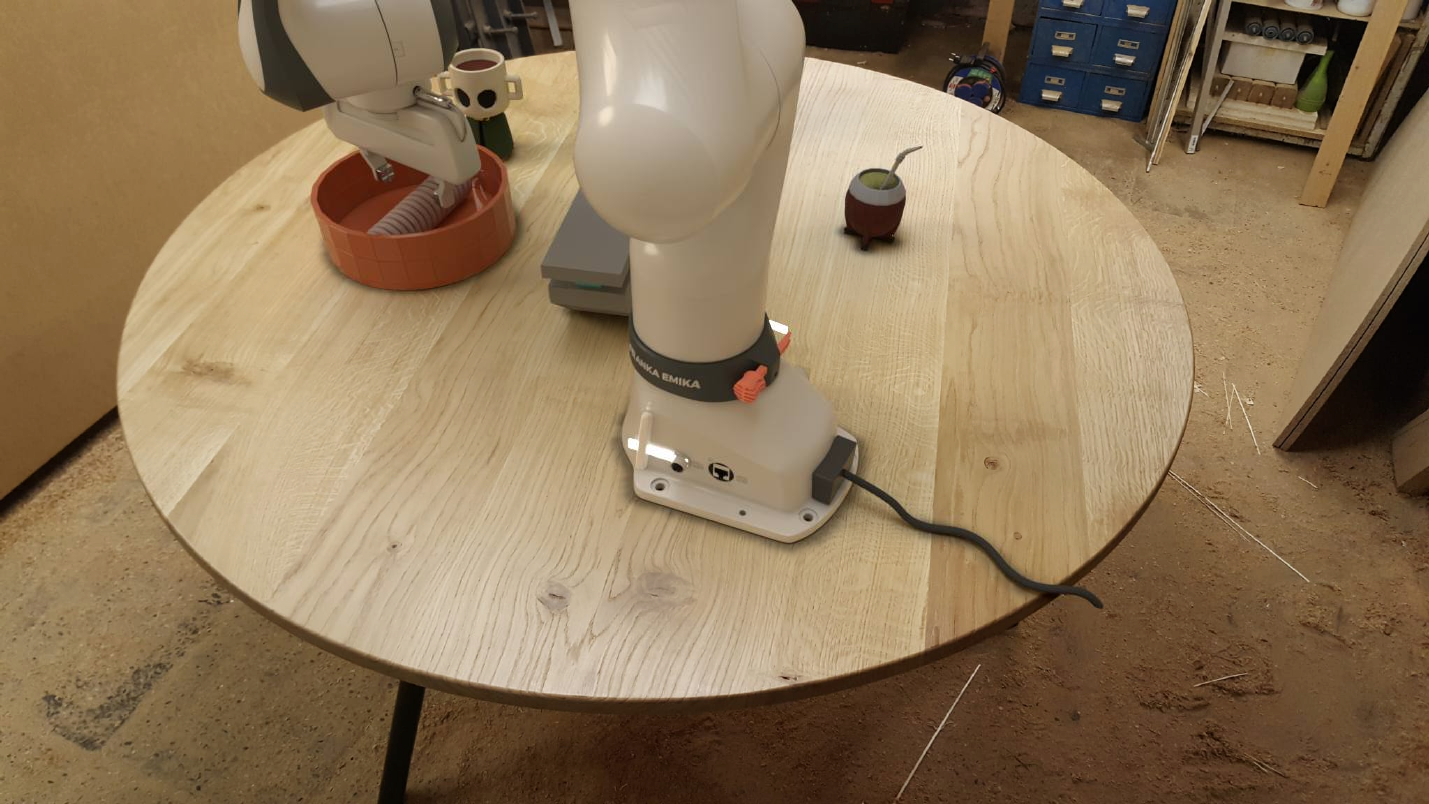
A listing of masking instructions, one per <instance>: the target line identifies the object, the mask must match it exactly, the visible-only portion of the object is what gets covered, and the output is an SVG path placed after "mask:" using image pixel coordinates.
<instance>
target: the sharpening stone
mask: <svg viewBox="0 0 1429 804" xmlns="http://www.w3.org/2000/svg"><path fill="white" fill-rule="evenodd" d="M629 242H630V237H629V236H627V235H625V234H623V233H621V232H620V231H618V230H617V229H615V228H614V227H612V226H611V225H609V224H608V223H607V222H606V221H605V220H604V219H602V218H601V217H600V216H599V215H598V214H597V213H596V211H595V210H594V209H593V208H592V206H591V205H590V204H589V202H588V201H587V199H586V198H585V196H584V194H583V192H582V190H581V188H580V187H578V190H577V192H576V194H575V196H574V198H573V200H572V202H571V204H570V206H569V208H568V210H567V212H566V214H565V215H564V218H563V220H562V222H561V224H560V226H559V228H558V230H557V232H556V233H555V236H554V237H553V239H552V242H551V244H550V245H549V247H548V249H547V252H546V253H545V255H544V256H543V259H542V261H541V264H540V271H541V278H542V279H547V280H549V282H548V284H547V289H548V298H549V303H550V304H553V305H556V306H558V307H561V308H565V309H568V310H572V311H581V312H587V313H588V312H589V313H595V314H596V313H597V314H603V315H605V314H606V315H612V316H613V315H614V316H621V317H628V318H629V315H630V312H631V309H632V291H631V272H630V254H629Z"/></svg>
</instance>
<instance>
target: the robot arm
mask: <svg viewBox="0 0 1429 804" xmlns="http://www.w3.org/2000/svg"><path fill="white" fill-rule="evenodd" d="M568 5H569V6H568V7H569V13H570V21H571V28H572V35H573V42H574V51H575V59H576V67H577V77H578V95H579V99H578V101H579V104H578V105H579V107H578V110H579V111H578V119H577V120H578V121H577V128H576V133H575V141H574V146H573V168H574V173H575V177H576V180H577V183H578V186H579V188H581V190H582V192H583V194H584V196H585V198H586V199H587V201H588V202H589V204H590V205H591V206H592V208H593V209H594V210H595V211H596V213H597V214H598V215H599V216H600V217H601V218H602V219H604V220H605V221H606V222H607V223H608V224H609V225H611V226H612V227H614V228H615V229H617V230H618V231H620V232H621V233H623V234H625V235H627V236H629V237H630V242H629V254H630V272H631V291H632V309H631V312H630V315H629V317H628V350H629V352H628V353H629V359H630V361H631V364H632V366H633V373H632V385H631V392H630V393H631V394H630V399H629V403H628V407H627V411H626V414H625V417H624V419H623V422H622V427H621V442H622V446H623V450H624V452H625V453H626V456H627V458H628V460H629V463H630V464H631V466H632V469H633V479H632V481H633V490H634V493H635V495H636V496H637V497H638V498H640V499H643V500H645V501H648V502H652V503H654V504H657V505H661V506H664V507H668V508H671V509H673V510H677V511H681V512H684V513H687V514H690V515H694V516H697V517H700V518H703V519H707V520H710V521H713V522H716V523H720V524H722V525H726V526H730V527H731V528H732V527H733V528H736V529H739V530H742V531H745V532H749V533H752V534H754V535H758V536H762V537H765V538H768V539H771V540H775V541H778V542H782V543H787V544H791V543H795V542H797V541H800V540H802V539H804V538H806V537H808V536H810V535H812V534H814V533H815V532H816V531H817V530H819V529H820V528H821V527H823V525H824V524H825V523H827V522H828V520H830V518H831V517H832V516H833V515H834V514H835V513H836V511H837V510H838V508H839V507H840V506H841V504H842V503H843V501H844V500H845V498H846V497H847V495H848V493H849V491H850V490H851V487H852V485H853V484H855V485H856V486H857V487H859V488H862V489H864V490H865V491H867V492H869V493H871V494H872V495H874V496H875V497H877V498H879V499H880V500H881V501H883V502H885V503H886V504H887V505H888V506H889V507H891V508H892V509H893V510H894V511H895V512H896V514H897V515H898V516H899V517H900V518H901V519H902V520H903V521H904V522H905V523H907V524H908V525H910V526H912V527H914V528H916V529H918V530H922V531H925V532H930V533H935V534H943V535H952V536H956V537H960V538H964V539H967V540H969V541H971V542H972V543H974V544H976V545H977V546H979V547H980V548H981V549H983V551H985V552H986V554H988V555H989V557H990V558H991V559H992V560H993V561H994V562H995V564H996V565H997V566H998V567H999V568H1000V569H1001V571H1002V572H1003V573H1004V574H1005V575H1006V576H1007V577H1009V578H1010V579H1011V580H1012V581H1014V582H1015V583H1017V584H1019V585H1020V586H1022V587H1024V588H1026V589H1028V590H1032V591H1035V592H1040V593H1045V594H1057V595H1068V596H1069V595H1071V596H1076V597H1080V598H1082V599H1085V600H1086V601H1087V602H1089V604H1091V605H1092V606H1093V607H1094V608H1096V609H1099V610H1101V609H1103V608H1104V604H1103V602H1102V601H1101V600H1100V599H1099V597H1097V595H1096V594H1094V593H1092V592H1091V591H1090V590H1088V589H1085V588H1083V587H1079V586H1074V585H1065V584H1052V583H1051V584H1050V583H1042V582H1038V581H1035V580H1032V579H1029V578H1027V577H1025V576H1024V575H1022V574H1020V573H1018V572H1017V571H1016V570H1015V569H1013V567H1011V566H1010V565H1009V564H1008V562H1006V560H1005V559H1004V558H1003V557H1002V555H1001V554H1000V553H999V552H998V551H997V550H996V549H995V548H994V546H993V545H992V544H991V543H990V542H988V541H987V540H986V539H985V538H983V537H982V536H981V535H979V534H977V533H975V532H973V531H972V530H968V529H965V528H962V527H959V526H952V525H944V524H943V525H942V524H936V523H930V522H925V521H923V520H921V519H918V518H917V517H915V516H913V515H911V514H910V513H909V512H908V511H907V510H906V509H905V508H904V507H903V506H902V505H901V503H900V502H899V501H898V500H897V499H895V498H894V497H893V496H891V494H889V493H887V492H886V491H884V490H883V489H882V488H879V487H878V486H876V485H875V484H873V483H870V482H869V481H868V480H866V479H864V478H862V477H860V476H858V475H857V472H858V465H859V454H860V453H859V444H858V441H857V439H856V437H855V436H854V435H853V434H851V433H849V432H848V431H846V430H845V429H843V428H842V427H840V426H838V420H837V415H836V410H835V408H834V405H833V404H832V402H831V401H830V399H829V398H828V397H827V396H826V395H824V393H822V391H820V390H819V389H818V387H817V386H815V385H814V384H813V383H812V382H811V381H810V376H809V374H808V372H807V371H806V370H805V368H804V367H802V366H800V365H798V364H796V365H793V363H791V361H790V360H789V359H788V358H786V356H785V355H783V354H784V353H785V351H786V350H787V349H788V348H789V346H790V343H791V336H792V331H791V330H790V331H788V328H789V327H788V326H786V325H784V324H781V323H779V322H775V321H773V320H770V318H769V316H768V313H767V311H766V306H767V297H768V296H767V295H768V285H769V275H770V274H769V273H770V262H771V253H772V244H773V239H774V233H775V228H776V224H777V218H778V215H779V214H778V213H779V209H780V205H781V204H780V203H781V199H782V194H783V188H784V184H785V179H786V173H787V167H788V162H789V158H790V157H789V156H790V152H791V148H792V147H791V145H792V141H793V135H794V128H795V123H796V117H797V116H796V115H797V109H798V104H799V97H800V90H801V86H802V85H801V84H802V78H803V74H804V73H803V72H804V66H805V59H806V47H807V45H806V44H807V41H806V40H807V39H806V38H807V37H806V31H805V25H804V22H803V19H802V17H801V15H800V12H799V10H798V9H797V7H796V5H795V4H794V2H793V1H792V0H568ZM237 18H238V19H237V21H238V23H237V35H238V36H237V37H238V44H239V48H240V53H241V56H242V59H243V61H244V65H245V67H246V68H247V71H248V73H249V75H250V76H251V78H252V80H253V81H254V83H255V84H256V85H257V88H258V89H259V90H260V92H261V93H262V94H263V95H265V96H266V97H268V98H269V99H271V100H273V101H275V102H277V103H279V104H281V105H284V106H286V107H288V108H291V109H293V110H296V111H298V112H301V113H306V112H309V111H312V110H315V109H318V108H320V110H321V113H322V115H323V118H324V121H325V124H326V127H327V128H328V129H329V131H330V132H331V134H332V135H333V136H334V138H336V139H337V140H340V141H342V142H345V143H347V144H350V145H353V146H355V147H358V150H359V151H360V153H361V155H362V156H363V157H364V159H365V160H366V162H367V163H368V164H369V166H370V167H371V168H372V171H373V174H374V177H375V180H377V181H380V182H382V183H385V184H388V183H389V182H390V181H392V180H394V178H395V174H394V172H393V167H392V165H390V164H388V163H387V162H386V160H385V158H384V157H386V158H388V159H391V160H393V161H396V162H398V163H401V164H404V165H406V166H409V167H411V168H414V169H416V170H419V171H422V172H424V173H427V174H429V175H432V176H434V178H435V182H436V183H439V189H437V190H435V191H433V192H432V194H433V198H434V199H435V200H434V202H435V204H437V205H439V206H441V207H444V208H448V207H450V206H451V205H453V204H454V202H455V198H454V193H453V189H454V187H455V185H461V184H463V183H464V182H466V181H468V180H469V179H471V178H472V177H474V176H475V175H476V174H477V173H478V172H479V170H480V168H481V161H480V157H479V153H478V149H477V146H476V143H475V139H474V136H473V133H472V130H471V127H470V125H469V122H468V120H467V118H466V115H465V114H463V112H462V111H461V110H459V108H458V107H457V106H456V105H455V103H454V102H453V101H454V100H453V99H452V98H451V97H450V96H444V95H442V94H438V93H435V92H434V91H432V89H433V86H432V81H431V78H433V77H435V76H436V77H437V75H438V74H440V73H442V72H443V73H444V72H445V71H448V67H449V66H450V64H451V62H452V60H453V58H454V56H455V53H457V52H458V48H459V36H458V30H457V26H456V21H455V15H454V9H453V5H452V2H451V0H237ZM774 330H775V331H777V332H780V333H782V334H785V335H784V336H783V337H782V339H781V340H780V341H779V343H778V341H777V338H776V334H775V332H774ZM659 489H662V490H659ZM807 519H808V521H807ZM1070 586H1071V587H1070ZM1061 592H1062V593H1061Z"/></svg>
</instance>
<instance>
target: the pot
mask: <svg viewBox="0 0 1429 804" xmlns="http://www.w3.org/2000/svg"><path fill="white" fill-rule="evenodd" d="M476 146H477V149H478V153H479V157H480V161H481V168H480V170H479V172H478V173H477V174H476V175H475V176H474V177H472V178H471V181H472V191H471V193H470V194H469V196H467V197H466V198H465V199H464V200H463V201H462V202H461V203H460V204H459V205H458V206H457V207H456V208H455V209H454V210H453V211H452V212H451V213H450V214H448V216H447V217H446V218H444V220H443V221H442V222H440V223H439V225H438V226H436V227H435V228H434V229H433V230H430V231H426V232H421V233H412V234H403V235H379V234H369V233H367V232H368V230H370V229H371V228H373V226H374V225H375V224H377V223H378V222H379V221H380V220H381V219H383V218H384V216H385V215H387V214H388V213H389V212H390V211H391V210H393V209H394V207H395V206H397V205H399V203H400V202H401V201H403V200H404V199H405V198H406V197H407V196H409V194H410V193H411V192H413V191H414V190H415V189H416V188H417V187H418V186H419V185H420V184H422V183H423V182H424V181H425V180H426V179H428V177H429V176H430V175H429V174H427V173H424V172H422V171H419V170H416V169H414V168H411V167H409V166H406V165H404V164H401V163H398V162H396V161H393V160H391V159H388V158H386V157H384V158H385V160H386V162H387V163H388V164H390V165H392V167H393V172H394V174H395V178H394V180H392V181H390V182H389V183H388V184H385V183H382V182H380V181H377V180H375V177H374V174H373V171H372V168H371V167H370V166H369V164H368V163H367V162H366V160H365V159H364V157H363V156H362V155H361V153H360V151H359V149H356V150H354V151H351V152H349V153H348V154H346V155H344V156H343V157H341V158H339V159H337V160H335V161H334V162H332V163H331V164H330V165H329V166H328V167H326V168H325V169H324V170H323V171H322V172H321V173H319V176H318V177H317V179H316V180H315V182H314V183H313V185H312V186H311V191H310V192H311V193H310V200H309V202H310V205H311V207H312V210H313V213H314V216H315V219H316V222H317V224H318V227H319V230H320V233H321V236H322V238H323V242H324V244H325V247H326V249H327V252H328V255H329V257H330V260H331V261H332V264H333V266H335V268H337V270H338V271H339V272H340V273H342V274H343V275H344V276H345V277H347V278H349V279H351V280H353V281H354V282H357V283H360V284H362V285H365V286H368V287H372V288H377V289H381V290H382V289H384V290H390V291H391V290H392V291H418V290H429V289H435V288H440V287H443V286H447V285H452V284H455V283H458V282H461V281H464V280H466V279H469V278H471V277H473V276H475V275H477V274H479V273H481V272H483V271H485V270H486V269H488V268H489V267H490V266H491V267H492V266H493V264H495V263H496V262H498V261H499V259H501V258H502V257H503V256H504V255H505V254H506V253H507V251H508V250H509V249H510V247H511V245H512V243H513V242H514V239H515V236H516V232H517V231H516V230H517V229H516V228H517V227H516V225H517V224H516V218H515V211H514V205H513V199H512V193H511V186H510V179H509V173H508V167H507V166H506V165H505V163H504V162H503V161H502V159H500V158H499V157H498V156H497V155H496V154H494V153H493V152H491V151H490V150H488V149H487V148H485V147H483V146H480V145H478V144H476Z"/></svg>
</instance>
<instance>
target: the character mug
mask: <svg viewBox="0 0 1429 804" xmlns="http://www.w3.org/2000/svg"><path fill="white" fill-rule="evenodd" d="M436 79H437V83H438V88H439V93H440V95H444V96H447V97H453V101H454V104H455V105H456V106H457V107H458V108H459V110H461V111H462V112H463V114H464V115H465V117H466V118H467V120H468V122H469V125H470V127H471V130H472V133H473V136H474V139H475V143H476V144H478V145H480V146H483V147H485V148H487V149H488V150H490V151H491V152H493V153H494V154H496V155H497V156H498V157H499V158H500V159H501V160H503V159H505V158H508V157H510V156H511V155H512V152H513V151H514V149H515V143H514V142H515V141H514V138H513V134H512V130H511V128H510V124H509V121H508V118H507V115H506V113H505V111H506V110H507V109H508V108H509V107H510V103H511V101H521V100H523V98H524V91H523V83H522V78H521V77H520V76H519V75H517V74H508V72H507V66H506V61H505V57H504V55H503V54H502V53H501V52H499V51H497V50H494V49H490V48H481V47H480V48H479V47H477V48H469V49H464V50H463V49H462V50H460V51H456V53H455V56H454V58H453V60H452V62H451V64H450V66H449V67H448V68H447V70H446V71H445V72H444V73H443V72H442V73H440V74H438V75H436ZM446 80H450V85H451V88H448V87H447V82H446ZM509 83H512V84H514V90H515V91H514V92H512V91H510V86H509Z"/></svg>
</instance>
